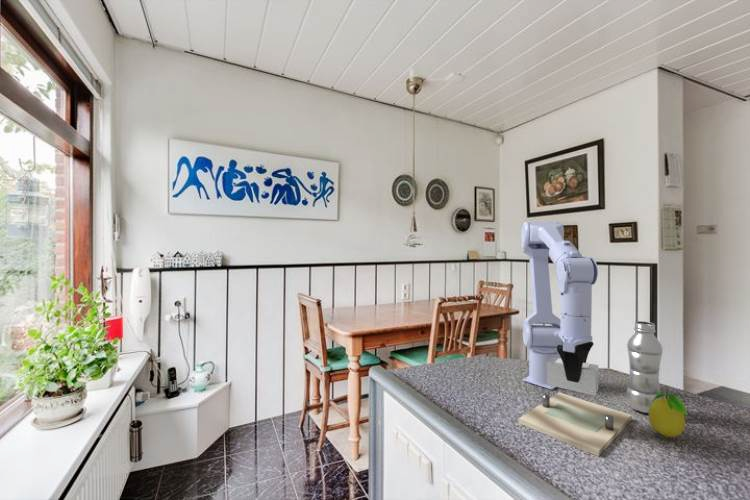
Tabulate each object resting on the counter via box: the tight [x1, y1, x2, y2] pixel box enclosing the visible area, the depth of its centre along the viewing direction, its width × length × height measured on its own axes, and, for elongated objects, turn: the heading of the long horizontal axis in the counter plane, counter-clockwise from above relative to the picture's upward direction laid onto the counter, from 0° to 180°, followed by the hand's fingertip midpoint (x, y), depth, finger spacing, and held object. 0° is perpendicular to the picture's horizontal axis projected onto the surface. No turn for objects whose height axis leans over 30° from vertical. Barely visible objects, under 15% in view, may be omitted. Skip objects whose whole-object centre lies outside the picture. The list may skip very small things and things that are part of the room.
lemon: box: [648, 386, 689, 438], centre depth 68 cm, size 7×6×10 cm
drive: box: [547, 357, 599, 397], centre depth 75 cm, size 4×9×5 cm, turn 51°
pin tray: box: [518, 391, 633, 457], centre depth 74 cm, size 20×15×4 cm
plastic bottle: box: [625, 320, 663, 414], centre depth 79 cm, size 6×7×20 cm
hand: (575, 377), depth 74 cm, fingers closed on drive, 4 cm apart
